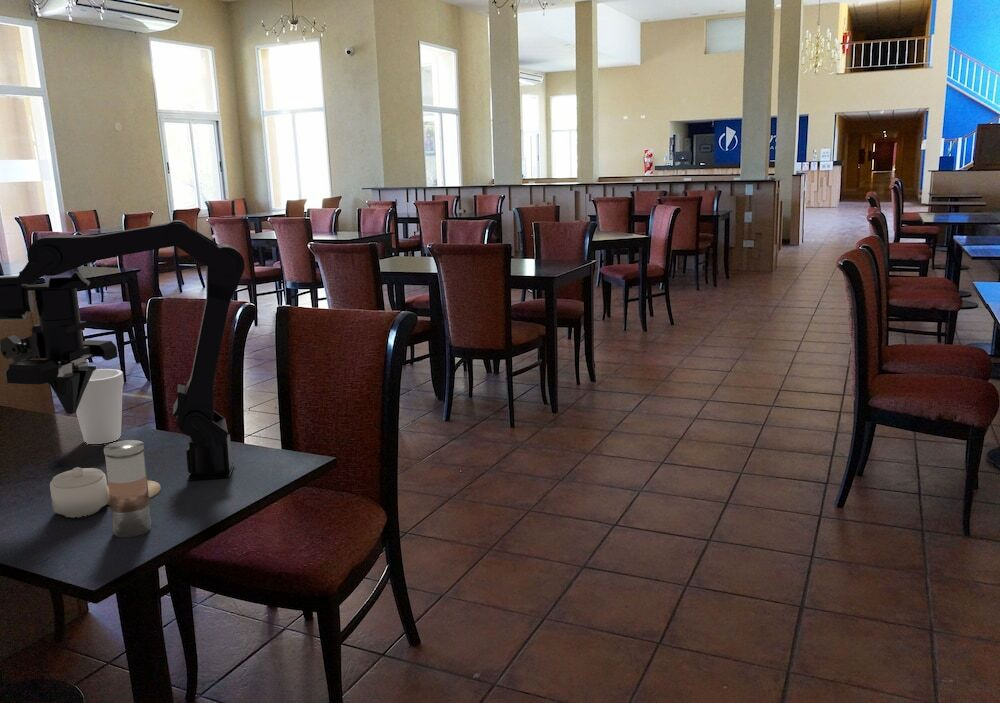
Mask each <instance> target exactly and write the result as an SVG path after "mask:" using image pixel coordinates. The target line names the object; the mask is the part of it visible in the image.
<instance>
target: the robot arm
mask: <svg viewBox="0 0 1000 703" xmlns="http://www.w3.org/2000/svg"><path fill="white" fill-rule="evenodd" d="M171 247H177V248H178V249H180V250H182V251H183V252H184V253H185V254H187V255H189V256H191V257H192V258H193V259H195V260H197V261H198V262H199V263H201V264H203V265H204V266H205V267H206V269H205V270H206V273H205V274H206V278H205V280H206V284H205V285H206V298H205V302H204V309H203V312H202V318H201V323H200V329H199V334H198V338H197V342H196V343H197V344H196V348H195V354H194V358H193V365H192V369H191V374H190V376H189V377H190V378H189V379H188V381H187V383H186V385H183V384H180V383H177V398H176V400H175V402H174V403H173V405H172V406H173V407H172V408H173V409H172V417H176V427H177V429H178V430H179V431H180V432H181V433H182V434H184V435H186V436H187V437H189V438H190V439H189V441H188V447H187V449H186V450H185V456H186V465H187V472H188V473H189V476H188V478H189V480H190V481H192V480H193V481H194V480H206V479H207V480H208V479H211V480H212V479H224V478H225V479H226V478H230V476H231V473H232V472H233V469H234V466H235V462H234V461H233V460H232V459H233V457H232V445H231V434H230V433H229V434H228V432H229V431H228V427H227V422H226V418H225V417H224V416H223V415H221V414H220V413H218V412H217V411H215V407H214V406H215V405H214V404H215V400H214V394H215V392H214V389H215V388H214V385H215V384H214V383H215V378H216V373H217V368H218V362H219V359H220V358H219V357H220V353H221V348H222V342H223V338H224V333H225V329H226V328H225V326H226V324H227V323H226V322H227V317H228V312H229V308H230V304H231V302H232V299H233V297H234V295H235V292H236V291H237V289H238V286H239V284H240V281H241V279H242V277H243V274H244V272H245V267H246V263H245V259H244V257H243V255H242V254H241V253H240V251H239V250H238V249H237V247H235V246H233V245H231V244H227V243H220V244H218V243H217V242H216V241H214V240H213V239H211V238H209V237H207V236H206V235H205V234H202V233H200V232H199V231H197V230H195V229H194V228H192V227H191V226H189V224H188V223H187V222H185V221H183V220H180V219H179V220H178V219H177V220H176V219H175V220H171V221H170V222H166V223H160V224H154V225H149V226H142V227H135V228H130V229H124V230H119V231H118V230H117V231H114V232H108V233H100V234H94V235H93V234H92V235H91V234H90V235H88V234H86V235H83V234H52V235H51V234H49V235H46V236H42V237H41V238H39V239H36V240H35V241H34V242H32V243H31V244H30V246H29V247H28V249H27V254H26V256H27V261H28V262H27V263H26V264H25V265H24V267H23V268H22V270H21V271H19V272H18V273H19V275H12V276H0V322H2V321H17V320H19V321H20V320H21V321H22V320H26V319H27V314H28V313H33V312H34V299H35V305H36V311H37V318H38V320H37V321H38V324H35V325H32V327H31V335H29V336H27V337H24V338H20V337H19V336H17V335H16V334H15V335H11V336H7V337H4V338H2V339H0V352H1V356H2V357H3V358H4V359H5V360H10V359H11V360H12V363H10V364H9V365H7V367H6V368H5V369H4V374H5V380H6V381H5V382H6V383H7V384H16V385H45V384H48V385H49V386H50V387H51V389H52V391H53V392H54V394H55V395H56V397H57V399H58V401H59V402H60V404H61V406H62V408H63V410H64V411H65V413H66V414H68V415H73V414H75V413H76V410H77V408H78V405H79V403H80V400H81V398H82V395H83V393H84V390H85V388H86V386H87V384H88V382H89V379H90V377H91V375H92V373H93V371H94V370H96V369H97V366H94V365H89V361H87V360H89V359H92V358H95V357H96V358H97V357H100V358H102V359H103V360H104V361H111V360H112V359H116V358H118V357H119V356H118V355H119V354H118V347H117V345H116V344H115V343H114V342H113V341H112V340H99V339H98V340H96V339H95V340H94V339H87V340H84V339H83V331H82V330H83V329H87V328H88V321H87V320H85V321H84V320H81V314H80V306H79V299H78V291H77V289H86V288H88V287H89V285H90V284H91V281H90V280H88V279H86V278H85V277H84V276H82V275H81V273H79V271H75V272H73V274H72V276H61V277H56V276H58V275H61V274H63V273H66V272H69V271H72V270H74V269H78V268H80V267H82V266H86V265H88V264H90V263H93V262H96V261H99V260H103V259H109V258H114V257H120V256H121V257H122V256H127V255H132V254H137V253H144V252H149V251H153V250H160V249H165V248H171ZM44 276H47V277H49V276H50V278H49V281H48V283H41V284H39V283H37V284H34V283H35V282H36V281H38V280H40V279H41V278H42V277H44ZM52 276H55V277H52ZM32 291H34V296H35V298H34V297H33V292H32Z"/></svg>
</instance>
